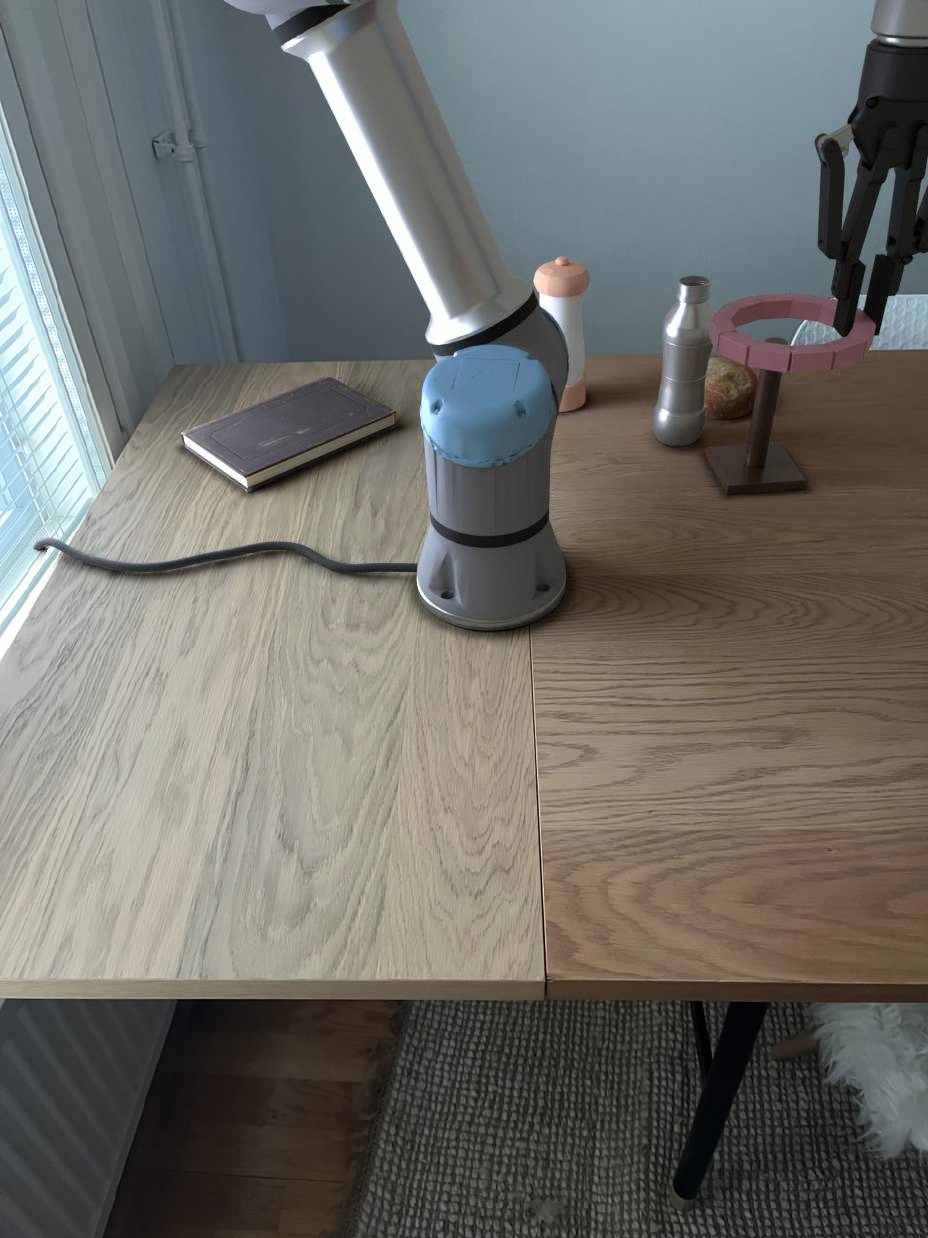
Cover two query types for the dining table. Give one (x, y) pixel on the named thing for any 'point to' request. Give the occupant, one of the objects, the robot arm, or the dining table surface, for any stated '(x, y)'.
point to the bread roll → (728, 389)
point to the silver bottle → (684, 364)
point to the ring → (787, 356)
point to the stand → (758, 447)
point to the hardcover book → (288, 432)
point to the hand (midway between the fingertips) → (855, 330)
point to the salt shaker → (567, 319)
